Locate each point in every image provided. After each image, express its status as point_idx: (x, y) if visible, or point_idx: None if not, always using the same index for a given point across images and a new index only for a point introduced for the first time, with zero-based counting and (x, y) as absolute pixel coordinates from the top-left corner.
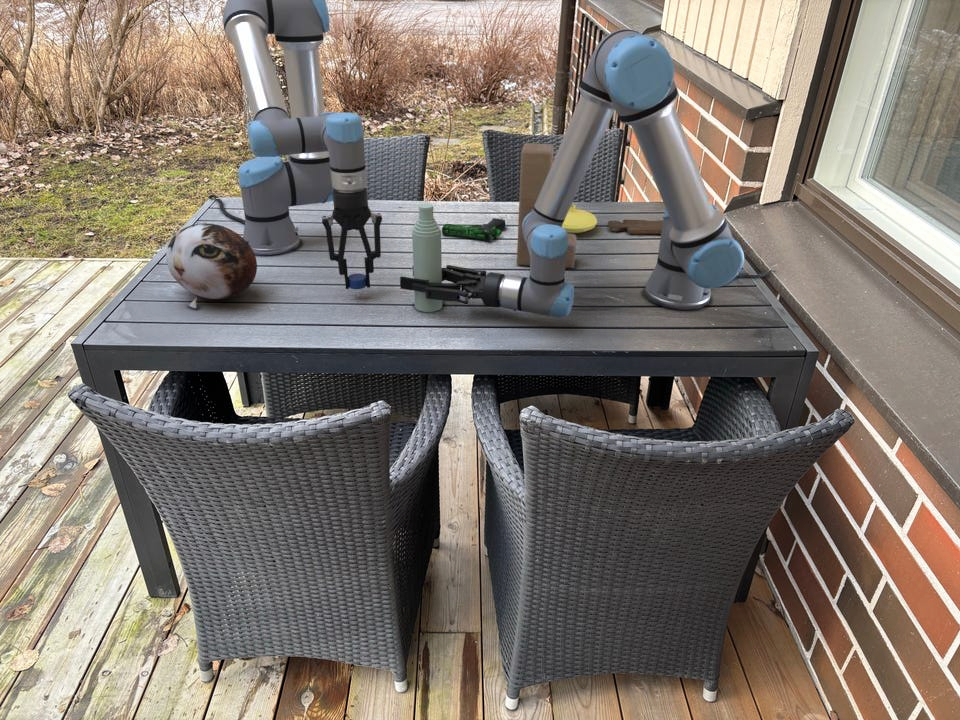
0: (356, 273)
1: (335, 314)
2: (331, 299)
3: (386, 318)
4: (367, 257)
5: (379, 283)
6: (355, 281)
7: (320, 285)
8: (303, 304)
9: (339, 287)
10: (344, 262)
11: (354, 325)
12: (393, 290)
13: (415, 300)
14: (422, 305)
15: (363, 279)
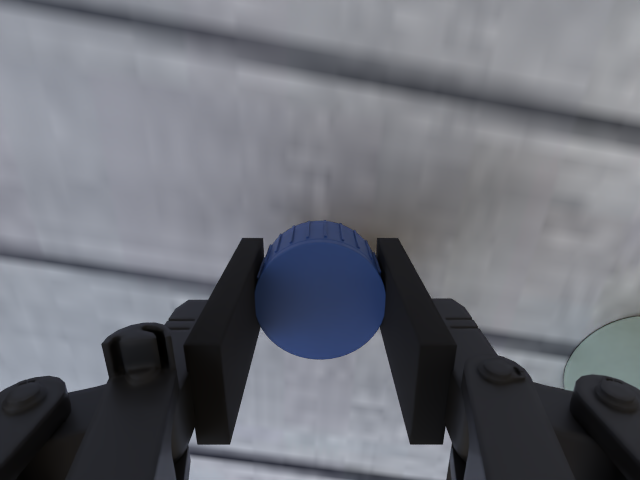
0: (319, 244)
1: None
2: (178, 237)
3: None
4: (452, 477)
5: (461, 61)
6: (306, 355)
7: (82, 26)
8: (43, 269)
9: (209, 82)
10: (207, 429)
11: (292, 465)
12: (519, 179)
13: None
14: None
15: (362, 345)
